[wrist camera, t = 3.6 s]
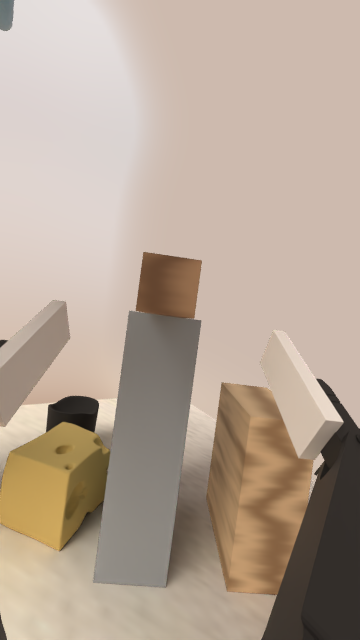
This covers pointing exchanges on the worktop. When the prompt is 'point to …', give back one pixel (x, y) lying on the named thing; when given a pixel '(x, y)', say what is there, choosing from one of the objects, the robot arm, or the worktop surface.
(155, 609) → the worktop surface
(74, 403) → the pen holder
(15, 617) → the worktop surface
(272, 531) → the oak block
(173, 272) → the walnut block
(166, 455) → the slate-grey stand
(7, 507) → the cheese
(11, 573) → the worktop surface
